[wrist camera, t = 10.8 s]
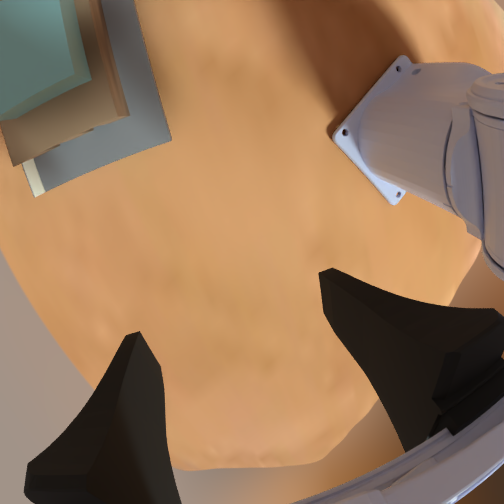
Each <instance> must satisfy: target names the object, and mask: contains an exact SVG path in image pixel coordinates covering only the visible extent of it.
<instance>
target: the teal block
mask: <svg viewBox="0 0 504 504" xmlns="http://www.w3.org/2000/svg"><path fill="white" fill-rule="evenodd" d="M90 80H92V79H91V75H90V71H89V67H88V63H87V59H86V55H85V51H84V47H83V43H82V38H81V34H80V29H79V25H78V20H77V15H76V10H75V5H74V0H1V1H0V121H3V120H10V119H17V118H18V117H20V116H22V115H23V114H25V113H27V112H28V111H30V110H32V109H34V108H36V107H37V106H39V105H41V104H43V103H45V102H47V101H48V100H50V99H52V98H54V97H56V96H58V95H60V94H62V93H64V92H66V91H68V90H70V89H73V88H75V87H77V86H79V85H81V84H83V83H86V82H88V81H90Z"/></svg>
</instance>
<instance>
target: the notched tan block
mask: <svg viewBox="0 0 504 504" xmlns="http://www.w3.org/2000/svg"><path fill="white" fill-rule="evenodd" d="M0 1H1V0H0ZM74 5H75V10H76V15H77V20H78V25H79V29H80V34H81V38H82V43H83V47H84V51H85V55H86V59H87V63H88V67H89V71H90V75H91V79H92V80H90V81H88V82H86V83H83V84H81V85H79V86H77V87H75V88H73V89H70V90H68V91H66V92H64V93H62V94H60V95H58V96H56V97H54V98H52V99H50V100H48V101H47V102H45V103H43V104H41V105H39V106H37V107H36V108H34V109H32V110H30V111H28V112H27V113H25V114H23V115H22V116H20V117H18V118H17V119H10V120H3V121H0V125H1V129H2V132H3V136H4V139H5V142H6V146H7V149H8V152H9V155H10V158H11V161H12V164H13V167H14V166H17V165H19V164H21V163H23V162H26V161H28V160H30V159H33V158H35V157H37V156H40V155H42V154H44V153H46V152H48V151H50V150H52V149H54V148H56V147H58V146H60V143H63V142H66V141H69V140H72V139H75V138H77V137H80V136H82V135H84V134H86V133H89V132H91V131H93V130H94V129H93V128H94V127H96V126H100V125H105V124H110V123H112V122H115V121H118V120H120V119H123V118H125V117H128V116H130V112H129V109H128V105H127V102H126V99H125V95H124V92H123V88H122V85H121V81H120V77H119V74H118V70H117V66H116V62H115V59H114V55H113V51H112V47H111V43H110V39H109V35H108V30H107V26H106V22H105V17H104V13H103V8H102V4H101V0H74Z"/></svg>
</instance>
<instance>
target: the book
mask: <svg viewBox="0 0 504 504" xmlns="http://www.w3.org/2000/svg"><path fill="white" fill-rule="evenodd" d="M101 4H102V8H103V13H104V17H105V22H106V26H107V30H108V35H109V39H110V43H111V47H112V51H113V55H114V59H115V62H116V66H117V70H118V74H119V77H120V81H121V85H122V88H123V92H124V95H125V99H126V102H127V105H128V109H129V112H130V116H128V117H125V118H123V119H120V120H118V121H115V122H112V123H110V124H105V125H100V126H96V127H94V128H93V129H94V130H93V131H91V132H89V133H86V134H84V135H82V136H80V137H77V138H75V139H72V140H69V141H66V142H63V143H60V146H58V147H56V148H54V149H52V150H50V151H48V152H46V153H44V154H42V155H40V156H37V157H35V158H33V159H30V160H28V161H26V162H23V163H22V166H23V169H24V172H25V175H26V177H27V180H28V183H29V185H30V188H31V191H32V193H33V196H34V197H37V196H39V195H41V194H43V193H45V192H47V191H49V190H51V189H53V188H55V187H57V186H59V185H61V184H63V183H65V182H68V181H70V180H72V179H74V178H76V177H79V176H81V175H83V174H86V173H88V172H90V171H93V170H95V169H97V168H100V167H102V166H105V165H107V164H109V163H112V162H114V161H117V160H120V159H122V158H125V157H127V156H130V155H133V154H135V153H138V152H141V151H143V150H146V149H149V148H152V147H155V146H157V145H160V144H163V143H166V142H169V141H171V140H172V137H171V134H170V131H169V127H168V124H167V120H166V117H165V114H164V110H163V107H162V103H161V100H160V96H159V93H158V89H157V86H156V82H155V79H154V75H153V72H152V68H151V64H150V61H149V57H148V53H147V49H146V46H145V42H144V38H143V34H142V30H141V26H140V23H139V19H138V15H137V11H136V6H135V2H134V0H101Z"/></svg>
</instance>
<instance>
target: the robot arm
mask: <svg viewBox="0 0 504 504" xmlns="http://www.w3.org/2000/svg"><path fill="white" fill-rule="evenodd" d="M396 67H398V71H397V70H396ZM343 129H345V130H346V134H345V135H344V136H343V134H342V131H343ZM332 139H333V141H334V143H335V144H336V145H337V146H338V147H339V148H340V149H341V150H342V151H343V152H344V153H345V154H346V155H347V156H348V157H349V158H350V160H351V161H352V162H353V163H354V164H355V165H356V166H357V167H358V168H359V169H360V170H361V171H362V173H363V174H364V175H365V176H366V177H367V178H368V179H369V180H370V182H371V183H372V184H373V185H374V186H375V187H376V188H377V190H378V191H379V192H380V193H381V194H382V195H383V197H384V198H385V199H386V200H387V201H388V202H389V203H390V204H391V205H396V204H397V203H398V202H399V201H400V199H401V198H402V197H403V196H404V194H405V193H406V192H409V193H411V194H413V195H416V196H418V197H420V198H422V199H424V200H426V201H428V202H430V203H432V204H434V205H436V206H438V207H440V208H442V209H444V210H446V211H448V212H450V213H452V214H454V215H456V216H458V217H460V218H462V219H463V220H464V221H465V223H466V226H467V232H468V233H470V234H471V235H473V236H475V237H477V238H478V239H480V240H482V246H481V247H482V254H483V258H484V260H485V262H486V264H487V266H488V267H489V269H490V270H491V271H492V272H493V273H494V274H495V275H496V276H498V277H499V278H500V279H502V280H503V281H504V73H497V74H491V73H490V72H488V71H486V70H485V69H483V68H481V67H479V66H476V65H473V64H470V63H462V62H444V63H415V64H412V62H411V61H410V60H409V58H408V57H407V56H405V55H400V56H399V57H398V58H397V59H396V60H395V61H394V62H393V63H392V65H391V66H390V67H389V68H388V69H387V70H386V72H385V73H384V74H383V75H382V76H381V77H380V79H379V80H378V81H377V82H376V83H375V84H374V86H373V87H372V88H371V89H370V90H369V92H368V93H367V94H366V95H365V96H364V97H363V99H362V100H361V101H360V102H359V103H358V104H357V106H356V107H355V108H354V109H353V110H352V112H351V113H350V114H349V115H348V116H347V117H346V119H345V120H344V121H343V122H342V123H341V125H340V126H339V127H338V128H337V129H336V130H335V132H334V133H333V135H332ZM397 192H398V195H397V196H396V194H397ZM319 281H320V288H321V296H322V304H323V312H324V314H325V316H326V318H327V320H328V322H329V324H330V325H331V327H332V329H333V331H334V332H335V334H336V335H337V336H338V338H339V339H340V340H341V342H342V343H343V345H344V346H345V347H346V348H347V350H348V351H349V352H350V354H351V355H352V356H353V358H354V359H355V360H356V362H357V363H358V364H359V366H360V367H361V368H362V370H363V371H364V373H365V374H366V376H367V377H368V379H369V381H370V382H371V384H372V386H373V388H374V389H375V391H376V393H377V395H378V396H379V398H380V400H381V402H382V404H383V406H384V408H385V409H386V411H387V413H388V415H389V417H390V419H391V422H392V424H393V425H394V428H395V430H396V432H397V434H398V436H399V439H400V441H401V443H402V446H403V448H404V450H405V454H403V455H401V456H399V457H397V458H396V459H394V460H392V461H390V462H388V463H386V464H384V465H382V466H380V467H379V468H376V469H374V470H372V471H370V472H368V473H366V474H364V475H362V476H360V477H358V478H355V479H353V480H351V481H349V482H346V483H344V484H342V485H339V486H337V487H334V488H332V489H330V490H327V491H324V492H322V493H320V494H317V495H314V496H311V497H308V498H306V499H303V500H300V501H297V502H294V503H291V504H454V503H455V502H457V501H458V500H459V499H461V498H462V497H464V496H465V495H466V494H468V493H469V492H470V491H471V490H473V489H474V488H475V487H476V486H478V485H479V484H480V483H481V482H483V481H484V480H485V479H486V478H488V477H489V476H490V475H491V474H492V473H493V472H495V471H496V470H497V469H498V468H499V467H500V466H501V465H502V464H503V463H504V359H503V358H501V356H502V354H503V351H504V317H503V316H502V315H501V314H500V313H498V311H496V310H495V309H493V308H490V309H489V308H487V309H486V308H485V309H484V308H483V309H481V308H479V309H478V308H476V309H475V308H457V307H448V306H441V305H435V304H429V303H425V302H420V301H416V300H413V299H409V298H405V297H402V296H399V295H396V294H393V293H390V292H388V291H385V290H382V289H380V288H377V287H375V286H372V285H370V284H368V283H365V282H363V281H361V280H359V279H356V278H354V277H352V276H350V275H348V274H346V273H343V272H341V271H339V270H337V269H334V268H330V269H327V270H325V271H322V272H319ZM390 486H391V487H390ZM388 487H389V488H388ZM386 488H387V489H386ZM384 489H385V490H384ZM382 490H383V491H382ZM24 493H25V496H26V497H27V498H28V499H29V500H30V501H31V502H33V503H35V504H182V503H181V500H180V497H179V493H178V490H177V486H176V483H175V479H174V475H173V471H172V466H171V461H170V456H169V451H168V446H167V438H166V420H165V394H164V384H163V377H162V371H161V366H160V364H159V363H158V361H157V360H156V358H155V356H154V355H153V353H152V351H151V350H150V348H149V346H148V345H147V343H146V341H145V339H144V338H143V336H142V334H141V333H140V331H139V332H135V333H132V334H129V335H126V336H125V338H124V339H123V341H122V343H121V345H120V347H119V348H118V350H117V352H116V354H115V356H114V358H113V360H112V362H111V363H110V365H109V367H108V369H107V371H106V373H105V374H104V376H103V378H102V379H101V381H100V383H99V384H98V386H97V388H96V389H95V391H94V393H93V395H92V396H91V397H90V399H89V400H88V402H87V403H86V405H85V406H84V407H83V409H82V410H81V412H80V413H79V414H78V415H77V417H76V418H75V419H74V420H73V421H72V422H71V424H70V425H69V426H68V427H67V428H66V430H65V431H64V432H63V433H62V434H61V435H60V436H59V437H58V438H57V439H56V440H55V441H54V442H53V443H52V444H51V445H50V446H49V447H48V448H46V449H45V450H44V451H43V452H42V453H40V454H39V455H38V456H37V457H36V458H34V459H33V460H32V461H30V462H29V463H28V465H27V472H26V479H25V486H24Z"/></svg>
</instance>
